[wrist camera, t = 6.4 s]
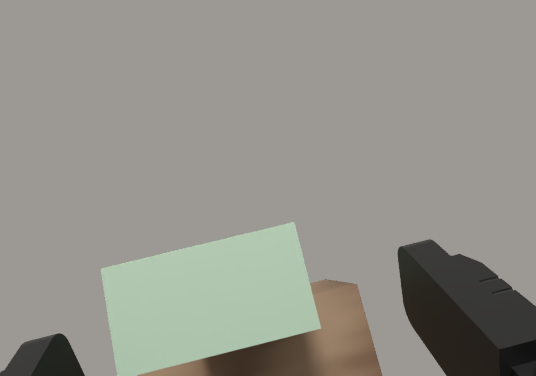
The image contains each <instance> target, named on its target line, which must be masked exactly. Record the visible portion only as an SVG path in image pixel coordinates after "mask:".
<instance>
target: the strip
mask: <svg viewBox="0 0 536 376" xmlns="http://www.w3.org/2000/svg"><path fill="white" fill-rule="evenodd" d="M101 274H102V281H103V288H104V294H105V300H106V306H107V313H108V320H109V325H110V332H111V338H112V345H113V351H114V358H115V365H116V371H117V376H136V375H140V374H144V373H148V372H152V371H155V370H159V369H163V368H167V367H171V366H175V365H179V364H183V363H187V362H191V361H195V360H199V359H203V358H207V357H211V356H215V355H219V354H223V353H227V352H231V351H234V350H238V349H242V348H246V347H250V346H254V345H258V344H262V343H266V342H270V341H274V340H278V339H282V338H286V337H290V336H294V335H298V334H302V333H306V332H309V331H313V330H317V329H321V325H320V321H319V317H318V313H317V310H316V306H315V302H314V298H313V294H312V290H311V286H310V282H309V278H308V274H307V270H306V266H305V262H304V259H303V255H302V251H301V247H300V243H299V239H298V235H297V231H296V227H295V224H294V222H293V223H288V224H284V225H280V226H276V227H272V228H268V229H263V230H260V231H255V232H251V233H247V234H243V235H238V236H234V237H230V238H226V239H222V240H218V241H214V242H210V243H206V244H201V245H197V246H193V247H189V248H185V249H181V250H176V251H172V252H168V253H164V254H160V255H156V256H152V257H148V258H143V259H139V260H135V261H131V262H127V263H123V264H118V265H114V266H110V267H106V268H102V269H101Z"/></svg>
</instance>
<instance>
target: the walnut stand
mask: <svg viewBox="0 0 536 376" xmlns="http://www.w3.org/2000/svg"><path fill="white" fill-rule="evenodd" d="M310 286H311V290H312V294H313V298H314V302H315V306H316V310H317V313H318V317H319V321H320V325H321V329H317V330H313V331H309V332H306V333H302V334H298V335H294V336H290V337H286V338H282V339H278V340H274V341H270V342H266V343H262V344H258V345H254V346H250V347H246V348H242V349H238V350H234V351H231V352H227V353H223V354H219V355H215V356H211V357H207V358H203V359H199V360H195V361H191V362H187V363H183V364H179V365H175V366H171V367H167V368H163V369H159V370H155V371H152V372H148V373H144V374H140V375H137V376H382V373H381V369H380V366H379V363H378V359H377V355H376V351H375V348H374V344H373V341H372V337H371V333H370V330H369V326H368V323H367V319H366V315H365V312H364V308H363V305H362V301H361V297H360V294H359V290H358V287H357V284H352V283H346V282H339V281H332V280H327V279H326V280H322V281H318V282H314V283H310Z"/></svg>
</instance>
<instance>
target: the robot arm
mask: <svg viewBox="0 0 536 376" xmlns="http://www.w3.org/2000/svg"><path fill="white" fill-rule="evenodd" d="M398 262H399V269H400V278H401V287H402V295H403V303H404V307H405V311H406V314H407V316H408V319H409V321H410V323H411V325H412V327H413V328H414V330H415V331H416V333H417V334H418V335H419V337H420V338H421V340H422V341H423V343H424V344H425V345H426V347H427V348H428V350H429V351H430V353H431V354H432V355H433V357H434V358H435V360H436V361H437V363H438V364H439V365H440V367H441V368H442V369H443V371H444V373H445V374H446V375H447V376H536V306H534V305H533V304H532V303H531V302H530V301H528V300H527V299H526V298H524V297H523V296H522V295H521V294H520V293H518V292H517V291H516V290H514V291H513V289H512V287H511V286H510V285H509V284H507V283H506V282H505V281H504V280H502V279H499V278H498V276H497V275H496V274H495V273H494V272H492V271H491V270H490V269H489V268H487V267H486V266H485V265H484V264H483V263H481V262H478V261H476V260H473V259H471V258H468V257H466V256H463V255H461V254H458V255H454V256H450V255H448V253H446V251H444V250H443V249H442V248H441V247H440V246H439V245H438V244H437V243H435V242H434V241H433V240H426V241H422V242H418V243H413V244H409V245H405V246H401V247H399V249H398ZM0 376H85V375H84V373H83V371H82V369H81V367H80V364H79V362H78V360H77V358H76V356H75V354H74V352H73V350H72V348H71V345H70V343H69V341H68V340H67V338H66V337H65V336H64V335H63V334H55V335H51V336H47V337H43V338H39V339H35V340H31V341H27V342H25V343H23V344H22V345H21V346H20V348H19V349H18V351H17V353H16V354H15V355H14V357H13V358H12V360H11V361H10V363H9V364H8V366H7V367H6V369H5V370H4V371H2V372H1V373H0Z"/></svg>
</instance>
